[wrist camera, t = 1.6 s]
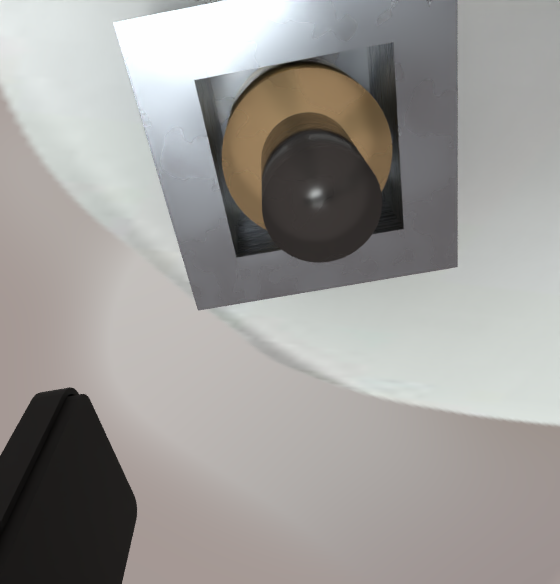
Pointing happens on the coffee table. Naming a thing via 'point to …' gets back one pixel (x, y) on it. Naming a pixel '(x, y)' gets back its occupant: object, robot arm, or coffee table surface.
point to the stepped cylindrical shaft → (308, 158)
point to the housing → (280, 49)
